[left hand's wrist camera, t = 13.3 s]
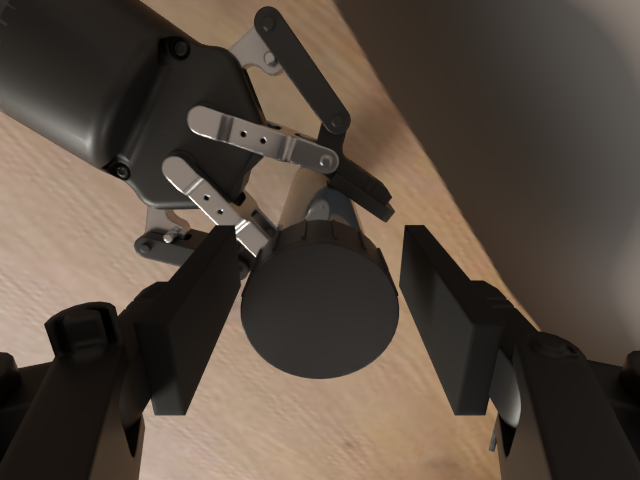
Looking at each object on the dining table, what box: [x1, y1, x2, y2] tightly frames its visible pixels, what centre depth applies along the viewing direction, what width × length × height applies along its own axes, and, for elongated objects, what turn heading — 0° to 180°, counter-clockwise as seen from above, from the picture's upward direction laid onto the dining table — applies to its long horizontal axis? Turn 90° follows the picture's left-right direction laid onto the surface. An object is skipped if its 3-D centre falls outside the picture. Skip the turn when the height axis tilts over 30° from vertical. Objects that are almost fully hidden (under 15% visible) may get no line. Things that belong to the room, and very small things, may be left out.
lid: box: [241, 219, 399, 379], centre depth 11 cm, size 5×5×2 cm
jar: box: [274, 167, 365, 236], centre depth 18 cm, size 4×4×15 cm
